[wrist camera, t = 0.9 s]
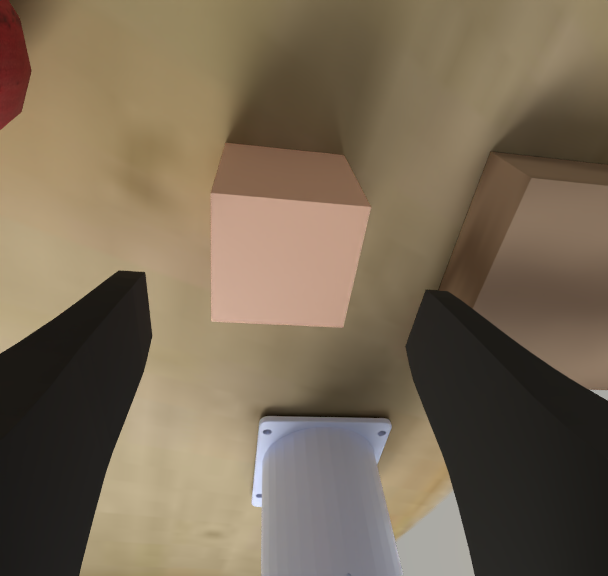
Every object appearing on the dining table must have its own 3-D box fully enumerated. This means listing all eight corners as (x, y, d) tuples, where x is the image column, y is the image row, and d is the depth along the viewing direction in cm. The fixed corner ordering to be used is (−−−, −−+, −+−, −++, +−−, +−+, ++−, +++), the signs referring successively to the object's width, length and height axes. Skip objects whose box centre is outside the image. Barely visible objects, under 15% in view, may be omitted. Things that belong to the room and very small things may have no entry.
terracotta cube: (325, 255, 18) (343, 327, 14) (223, 248, 18) (211, 321, 14) (343, 154, 16) (371, 206, 12) (225, 142, 15) (210, 192, 11)
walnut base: (588, 349, 23) (627, 390, 20) (418, 341, 22) (438, 384, 19) (709, 176, 17) (781, 204, 15) (490, 151, 16) (531, 177, 14)
